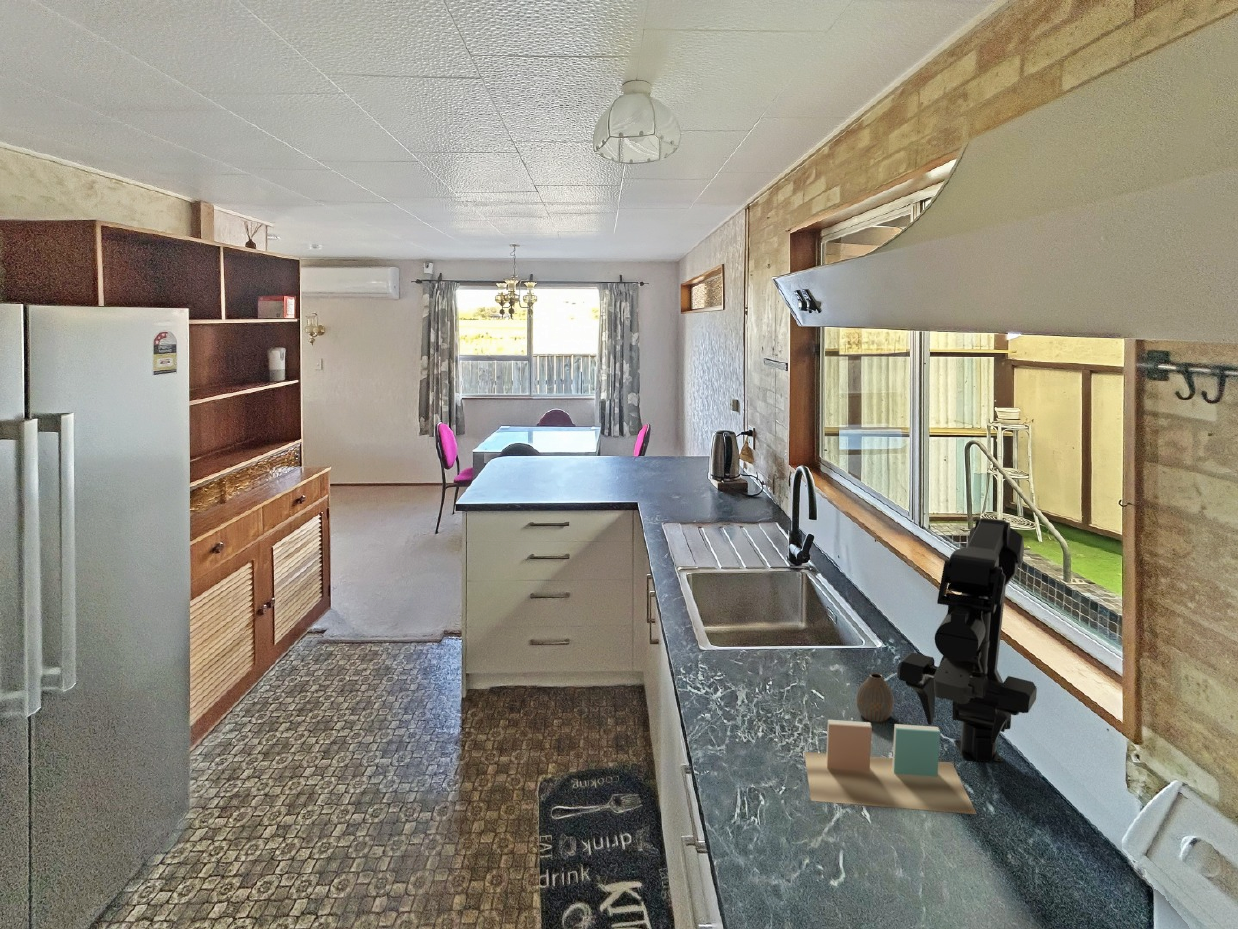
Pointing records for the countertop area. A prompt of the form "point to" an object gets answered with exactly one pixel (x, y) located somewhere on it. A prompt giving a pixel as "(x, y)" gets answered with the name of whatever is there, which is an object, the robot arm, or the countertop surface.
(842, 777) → the cork mat
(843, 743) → the terracotta tile
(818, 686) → the countertop surface
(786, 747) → the countertop surface
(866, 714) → the vase
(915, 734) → the teal tile
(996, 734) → the robot arm
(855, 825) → the countertop surface
